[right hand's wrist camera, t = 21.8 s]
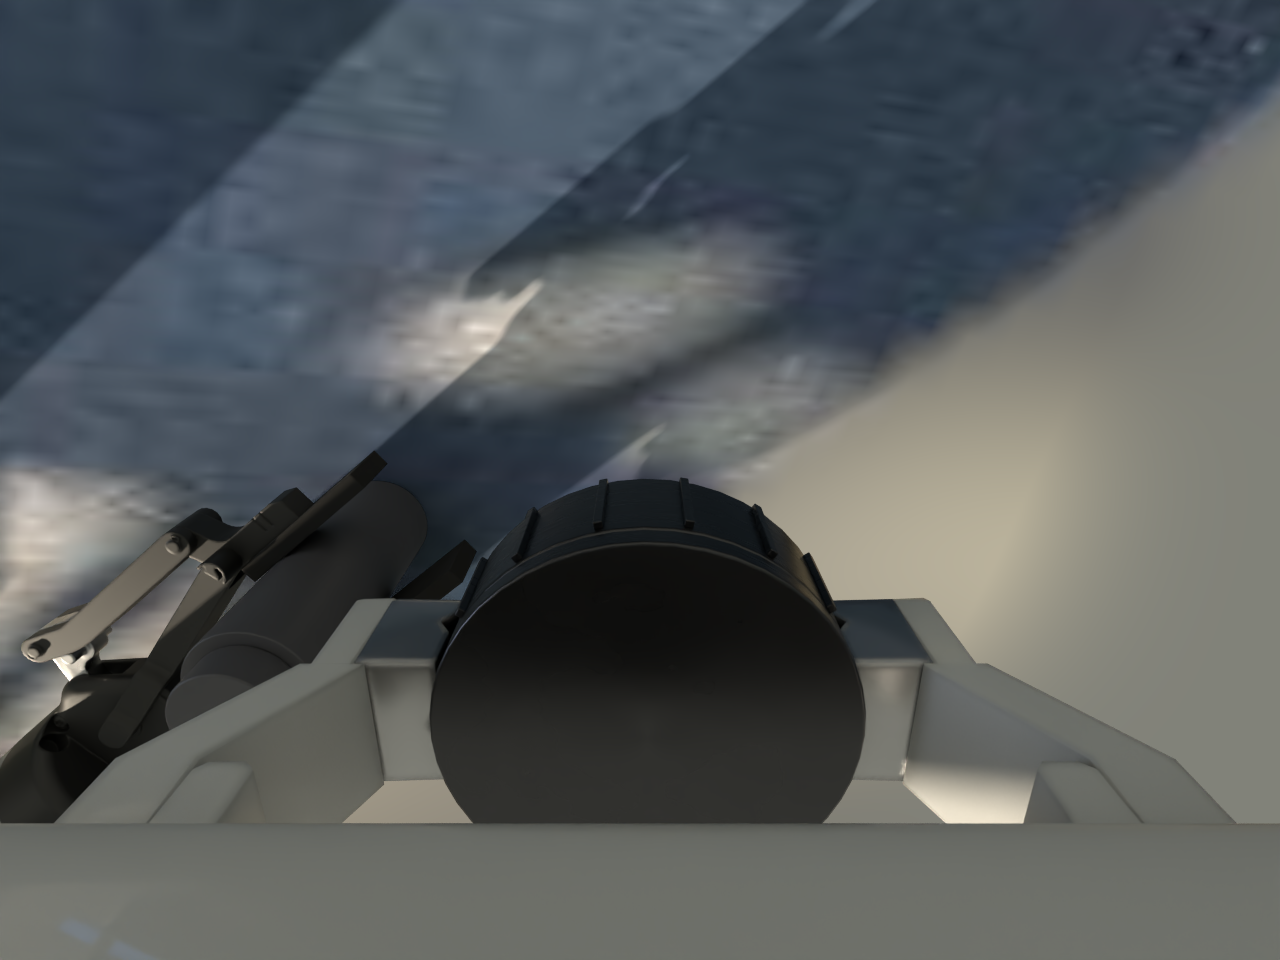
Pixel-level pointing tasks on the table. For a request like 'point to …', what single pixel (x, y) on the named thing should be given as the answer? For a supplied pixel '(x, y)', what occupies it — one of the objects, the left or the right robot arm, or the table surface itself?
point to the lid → (647, 668)
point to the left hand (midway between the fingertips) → (417, 515)
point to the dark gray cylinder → (302, 599)
